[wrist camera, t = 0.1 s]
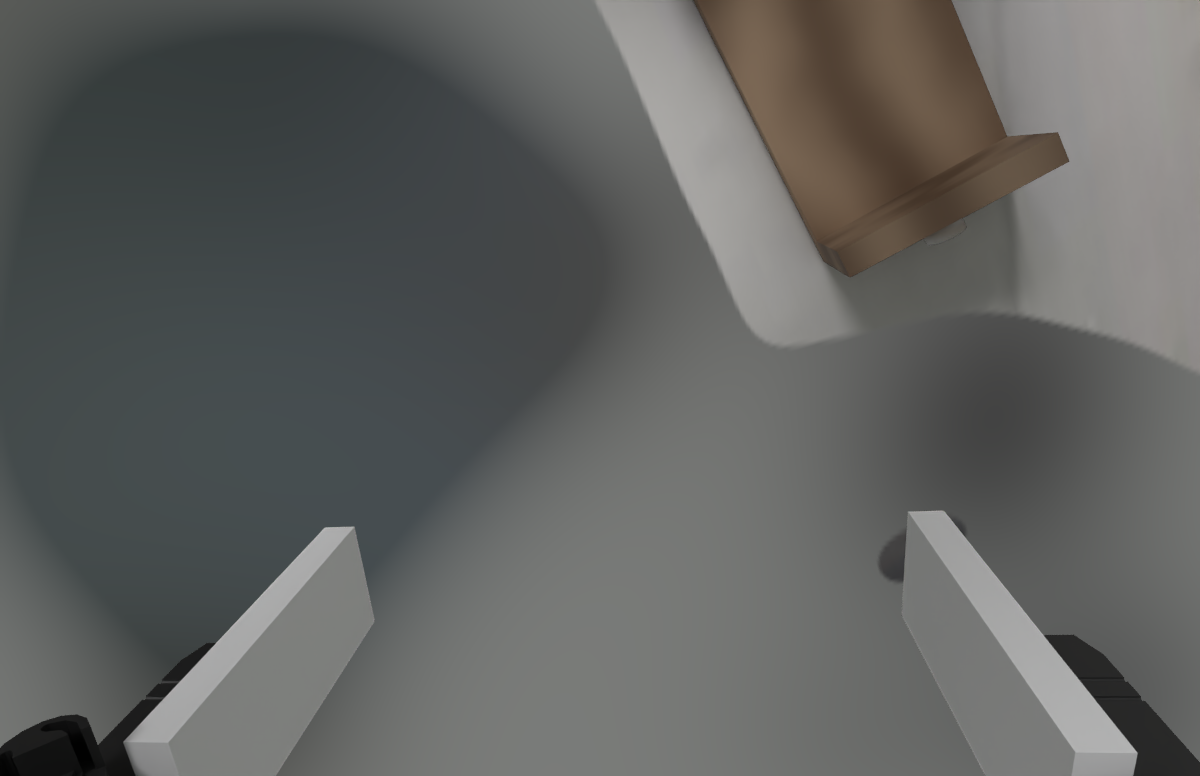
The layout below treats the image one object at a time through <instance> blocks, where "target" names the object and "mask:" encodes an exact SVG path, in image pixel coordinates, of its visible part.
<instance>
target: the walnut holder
mask: <svg viewBox="0 0 1200 776" xmlns="http://www.w3.org/2000/svg"><path fill="white" fill-rule="evenodd" d="M693 1H694V3H695V5H696V7H697V9H698V11H699V13H700V15H701V17H702V19H703V21H704V23H705V25H706V27H707V29H708V31H709V33H710V35H711V37H712V39H713V41H714V43H715V45H716V47H717V49H718V51H719V53H720V55H721V57H722V59H723V61H724V63H725V65H726V67H727V69H728V71H729V73H730V75H731V77H732V79H733V81H734V83H735V85H736V87H737V89H738V91H739V93H740V95H741V97H742V99H743V101H744V103H745V105H746V107H747V109H748V111H749V113H750V115H751V117H752V119H753V121H754V123H755V125H756V127H757V129H758V131H759V133H760V135H761V137H762V139H763V141H764V143H765V145H766V147H767V149H768V151H769V153H770V155H771V157H772V159H773V161H774V163H775V165H776V167H777V169H778V171H779V173H780V175H781V177H782V179H783V181H784V183H785V185H786V187H787V189H788V191H789V193H790V195H791V197H792V199H793V201H794V203H795V205H796V207H797V209H798V211H799V213H800V215H801V217H802V219H803V221H804V223H805V225H806V227H807V229H808V231H809V233H810V235H811V237H812V239H813V241H814V243H815V245H816V247H817V249H818V251H819V253H820V255H821V257H822V259H823V261H824V262H826V263H827V264H829V265H830V266H832V267H834V268H835V269H837V270H838V271H840V272H842V273H843V274H845V275H847V276H848V277H852V276H854V275H856V274H858V273H860V272H862V271H863V270H865V269H867V268H869V267H871V266H873V265H875V264H877V263H879V262H880V261H882V260H884V259H886V258H888V257H890V256H892V255H894V254H896V253H897V252H899V251H901V250H903V249H905V248H907V247H909V246H911V245H913V244H914V243H916V242H918V241H920V240H922V239H924V240H925V242H926V244H927V245H935V244H939V243H942V242H944V241H947V240H949V239H951V238H953V237H955V236H957V235H958V234H960V233H961V232H963V231H964V230H965V229H966V225H965V222H964V220H963V217H965V216H967V215H969V214H971V213H973V212H975V211H977V210H979V209H980V208H982V207H984V206H986V205H988V204H990V203H992V202H994V201H996V200H997V199H999V198H1001V197H1003V196H1005V195H1007V194H1009V193H1011V192H1013V191H1014V190H1016V189H1018V188H1020V187H1022V186H1024V185H1026V184H1028V183H1030V182H1031V181H1033V180H1035V179H1037V178H1039V177H1041V176H1043V175H1045V174H1047V173H1048V172H1050V171H1052V170H1054V169H1056V168H1058V167H1060V166H1062V165H1064V164H1065V163H1067V162H1069V159H1068V157H1067V154H1066V152H1065V149H1064V147H1063V144H1062V142H1061V139H1060V136H1059V134H1058V132H1057V133H1045V134H1033V135H1020V136H1008V137H1007V135H1006V132H1005V130H1004V127H1003V125H1002V123H1001V120H1000V118H999V115H998V113H997V110H996V108H995V106H994V103H993V101H992V98H991V96H990V93H989V91H988V89H987V86H986V84H985V81H984V79H983V76H982V74H981V71H980V69H979V67H978V64H977V62H976V59H975V57H974V54H973V52H972V50H971V47H970V45H969V42H968V40H967V37H966V35H965V33H964V30H963V28H962V25H961V23H960V20H959V18H958V16H957V13H956V11H955V8H954V6H953V3H952V1H951V0H693Z"/></svg>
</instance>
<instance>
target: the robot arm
mask: <svg viewBox="0 0 1200 776" xmlns="http://www.w3.org/2000/svg"><path fill="white" fill-rule="evenodd" d="M902 617H903V619H904V621H905V623H906V625H907V627H908V629H909V631H910V632H911V634H912V636H913V638H914V640H915V642H916V644H917V646H918V648H919V650H920V652H921V654H922V655H923V657H924V659H925V661H926V663H927V665H928V667H929V669H930V671H931V673H932V674H933V676H934V678H935V680H936V682H937V684H938V686H939V688H940V690H941V692H942V694H943V696H944V698H945V700H946V702H947V703H948V705H949V707H950V709H951V711H952V713H953V715H954V717H955V719H956V721H957V723H958V725H959V727H960V728H961V730H962V732H963V734H964V736H965V738H966V740H967V742H968V744H969V746H970V747H971V750H972V751H973V753H974V755H975V757H976V759H977V761H978V763H979V765H980V767H981V769H982V771H983V773H984V775H985V776H1200V762H1199V761H1198V760H1197V759H1196V758H1195V757H1194V755H1193V754H1192V753H1191V752H1190V751H1189V750H1188V749H1187V748H1186V746H1185V745H1184V744H1183V743H1182V742H1181V741H1180V740H1179V739H1178V738H1177V736H1176V735H1174V733H1173V732H1172V731H1171V730H1170V729H1169V727H1167V725H1166V724H1165V723H1164V722H1163V721H1162V720H1161V718H1160V717H1159V716H1158V715H1157V714H1156V713H1155V712H1154V711H1153V710H1152V709H1151V707H1150V706H1149V705H1148V704H1147V703H1146V702H1145V701H1142V700H1141V696H1140V695H1139V694H1138V693H1137V691H1136V690H1135V689H1134V688H1133V687H1132V686H1131V685H1130V684H1129V683H1128V682H1125V681H1124V677H1123V676H1122V675H1121V674H1120V672H1119V671H1118V670H1117V669H1116V668H1115V667H1114V666H1113V665H1112V664H1111V663H1110V661H1109V660H1108V659H1107V658H1106V657H1105V656H1104V655H1103V654H1102V653H1100V652H1099V651H1097V650H1096V649H1094V648H1093V647H1091V646H1090V645H1088V644H1087V643H1085V642H1083V641H1082V640H1081V639H1079V638H1078V637H1076V636H1074V635H1043V634H1042V633H1041V632H1040V630H1039V629H1038V628H1037V627H1036V626H1035V624H1034V623H1033V622H1032V621H1031V619H1030V618H1029V617H1028V616H1027V614H1026V613H1025V612H1024V610H1023V609H1022V608H1021V607H1020V605H1019V604H1018V603H1017V602H1016V601H1015V599H1014V598H1013V597H1012V595H1011V594H1010V593H1009V592H1008V590H1007V589H1006V588H1005V587H1004V585H1003V584H1002V583H1001V582H1000V580H999V579H998V578H997V577H996V576H995V574H994V573H993V572H992V570H991V569H990V568H989V567H988V565H987V564H986V563H985V562H984V560H983V559H982V558H981V557H980V555H979V554H978V553H977V552H976V551H975V549H974V548H973V547H972V545H971V544H970V543H969V542H968V540H967V539H966V538H965V537H964V535H963V534H962V533H961V532H960V530H959V529H958V528H957V527H956V525H955V524H954V523H953V522H952V520H951V519H950V518H949V517H948V515H947V514H946V513H945V512H944V511H915V512H914V511H913V512H908V521H907V536H906V552H905V568H904V584H903V600H902ZM374 621H375V620H374V616H373V611H372V607H371V602H370V597H369V593H368V589H367V583H366V579H365V574H364V570H363V565H362V560H361V556H360V551H359V546H358V542H357V537H356V533H355V528H354V527H331V528H324V529H323V530H322V531H321V532H320V534H319V535H318V536H317V537H316V538H315V539H314V540H313V541H312V542H311V543H310V544H309V545H308V546H307V547H306V549H305V550H303V552H302V553H301V554H300V555H299V556H298V557H297V558H296V559H295V560H294V561H293V562H292V563H291V564H290V565H289V566H288V568H287V569H286V570H285V571H284V572H283V573H282V574H281V575H280V576H279V577H278V578H277V579H276V580H275V581H274V583H272V584H271V586H270V587H269V588H268V589H267V590H266V591H265V592H264V593H263V594H262V595H261V596H260V597H259V599H257V600H256V602H255V603H254V604H253V605H252V606H251V607H250V608H249V609H248V610H247V611H246V612H245V613H244V614H243V615H242V616H241V617H240V618H239V620H238V621H237V622H236V623H235V624H234V625H233V626H232V627H231V628H230V629H229V630H228V631H227V632H226V634H224V635H223V637H222V638H221V639H220V640H219V641H218V642H217V643H206V644H205V645H203V646H202V647H200V648H199V649H198V650H196V651H195V652H193V653H191V654H190V655H188V656H187V657H185V658H184V659H182V660H181V661H180V662H179V663H178V664H177V665H176V666H175V667H174V668H173V669H172V670H171V671H170V672H169V673H168V674H167V675H166V676H165V677H164V678H163V679H162V683H161V684H157V685H156V686H155V687H154V689H153V690H152V691H151V692H150V693H149V694H148V695H147V696H146V699H145V700H142V701H141V702H140V703H139V704H138V705H137V706H136V707H135V708H134V709H133V710H132V711H131V712H130V713H129V714H128V715H127V716H126V717H125V718H124V719H123V720H122V721H121V722H120V723H119V724H118V725H117V726H116V727H115V728H114V729H113V730H112V731H111V732H110V733H109V734H108V736H106V738H105V739H103V741H102V742H101V743H100V744H99V745H97V742H96V740H95V737H94V735H93V732H92V729H91V727H90V724H89V722H88V720H87V718H85V717H82V716H79V715H65V716H60V717H56V718H53V719H49V720H46V721H43V722H41V723H39V724H37V725H35V726H32V727H30V728H29V729H26V730H24V731H22V732H21V733H19V734H18V735H16V736H15V737H13V738H12V739H11V740H9V741H8V742H6V743H5V744H4V745H3V746H2V747H1V748H0V776H276V774H277V773H278V771H279V770H280V768H281V767H282V765H283V763H284V762H285V760H286V759H287V757H288V756H289V754H290V752H291V751H292V749H293V748H294V746H295V745H296V743H297V742H298V740H299V738H300V737H301V735H302V734H303V732H304V730H305V729H306V727H307V726H308V724H309V723H310V721H311V720H312V718H313V717H314V715H315V713H316V712H317V710H318V709H319V707H320V706H321V704H322V702H323V701H324V699H325V698H326V696H327V695H328V693H329V691H330V690H331V688H332V687H333V685H334V684H335V682H336V681H337V679H338V677H339V676H340V674H341V673H342V671H343V670H344V668H345V667H346V665H347V663H348V662H349V660H350V659H351V657H352V655H353V654H354V652H355V651H356V649H357V648H358V646H359V645H360V643H361V642H362V640H363V638H364V637H365V635H366V634H367V632H368V631H369V629H370V627H371V626H372V624H373V623H374Z"/></svg>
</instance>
